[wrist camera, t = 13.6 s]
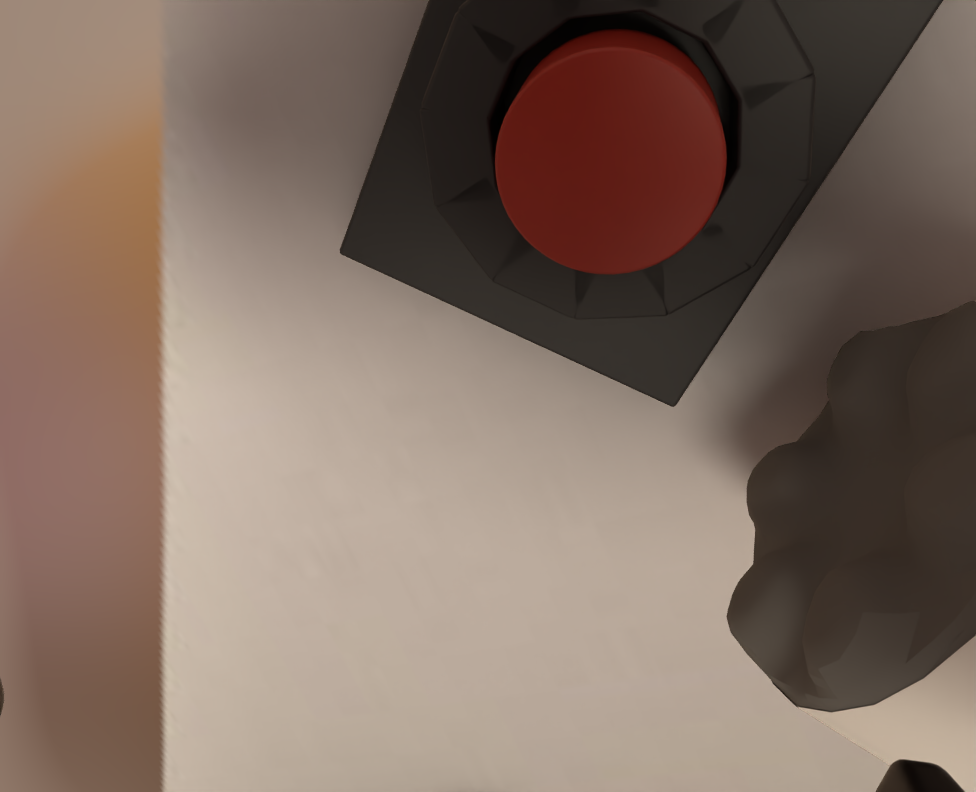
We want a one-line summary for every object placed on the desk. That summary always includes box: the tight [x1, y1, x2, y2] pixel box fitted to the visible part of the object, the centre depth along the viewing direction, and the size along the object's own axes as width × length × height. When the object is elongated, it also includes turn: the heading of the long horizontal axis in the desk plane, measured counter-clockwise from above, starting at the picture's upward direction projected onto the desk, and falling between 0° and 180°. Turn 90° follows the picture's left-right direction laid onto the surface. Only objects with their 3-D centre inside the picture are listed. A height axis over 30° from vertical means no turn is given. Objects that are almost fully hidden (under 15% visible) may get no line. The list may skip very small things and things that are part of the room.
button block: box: [340, 0, 943, 407], centre depth 16 cm, size 10×8×3 cm
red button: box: [495, 29, 727, 274], centre depth 15 cm, size 4×4×2 cm
